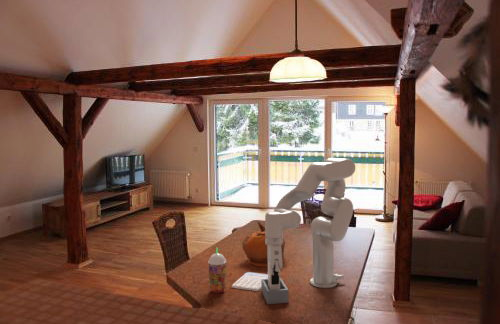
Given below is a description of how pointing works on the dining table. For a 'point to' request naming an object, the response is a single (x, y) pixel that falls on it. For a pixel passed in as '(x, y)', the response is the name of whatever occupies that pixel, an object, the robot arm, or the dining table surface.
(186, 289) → the dining table surface
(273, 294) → the grey open box
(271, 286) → the post
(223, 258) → the smoothie
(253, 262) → the pumpkin
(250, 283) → the calculator
